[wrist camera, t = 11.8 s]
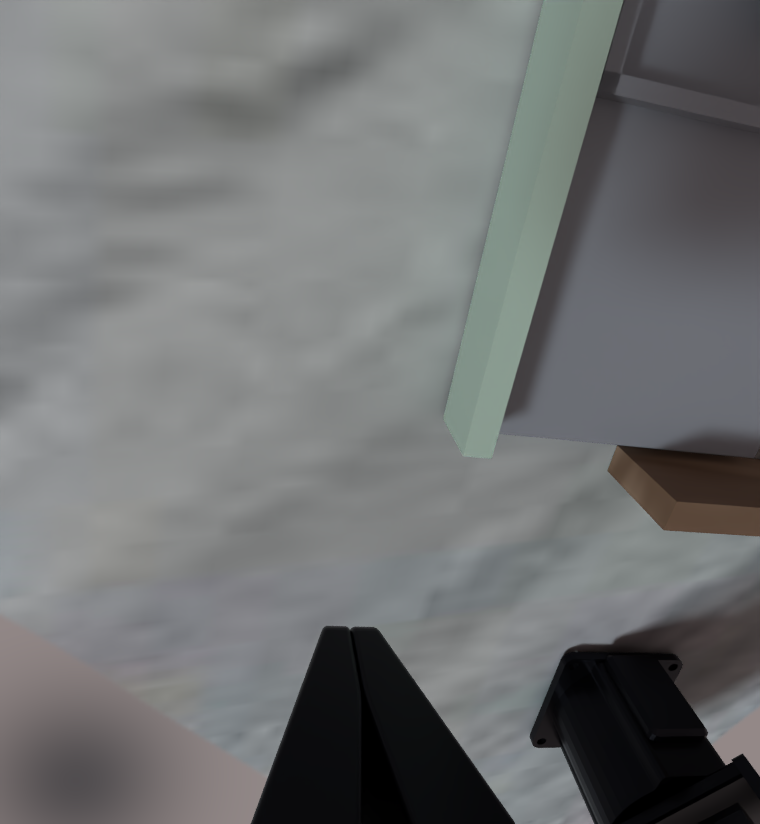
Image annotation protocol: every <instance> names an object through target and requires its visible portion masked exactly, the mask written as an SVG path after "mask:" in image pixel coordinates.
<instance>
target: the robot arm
mask: <svg viewBox="0 0 760 824" xmlns="http://www.w3.org/2000/svg"><path fill="white" fill-rule="evenodd" d="M682 665H683V664H682V662H681V661H680V659H679V658H678V656H676V655H675V654H652V653H594V652H571V653H568V654H566V655H564V656H563V657H562V659H561V661H560V663H559V666H558V668H557V670H556V673H555V675H554V678H553V680H552V682H551V685H550V687H549V690H548V692H547V695H546V697H545V699H544V702H543V704H542V707H541V709H540V712H539V714H538V716H537V719H536V721H535V724H534V726H533V728H532V731H531V733H530V739H531V742H532V744H533V746H534V747H537V748H556V747H561V749H562V751H563V753H564V756H565V758H566V760H567V762H568V765H569V767H570V769H571V772H572V774H573V776H574V778H575V781H576V783H577V785H578V788H579V790H580V792H581V794H582V797H583V799H584V801H585V803H586V806H587V808H588V810H589V813H590V815H591V817H592V819H593V822H594V824H760V777H759V775H758V774H757V772H756V771H755V770H754V769H753V767H752V766H751V764H750V763H749V761H748V760H747V759H746V757H745V756H744V755H743V754H741V755H739V756H737V757H735V758H733V759H732V761H733V762H732V763H730V764H728V765H725V764H724V763H723V761H722V759H721V758H720V756H719V755H718V754H717V752H716V751H715V749H714V748H713V746H712V745H711V743H710V742H709V741H708V739H707V738H706V737H707V735H708V732H707V729H706V728H705V727H704V725H703V724H702V722H701V721H700V719H699V718H698V717H697V715H696V714H695V712H694V711H693V709H692V708H691V707H690V705H689V704H688V702H687V701H686V699H685V698H684V697H683V695H682V694H681V692H680V691H679V689H678V688H677V687H676V685H675V684H674V681H675V679H676V677H677V676H678V674H679V672H680V670H681V668H682ZM251 824H515V822H514V821H513V819H512V818H511V816H510V815H509V814H508V812H507V811H506V809H505V808H504V807H503V805H502V804H501V802H500V801H499V799H498V798H497V797H496V795H495V794H494V792H493V791H492V790H491V788H490V787H489V785H488V784H487V783H486V781H485V780H484V778H483V777H482V775H481V774H480V773H479V771H478V770H477V768H476V767H475V766H474V764H473V763H472V761H471V760H470V758H469V757H468V756H467V754H466V753H465V751H464V750H463V749H462V747H461V746H460V744H459V743H458V742H457V740H456V739H455V737H454V736H453V734H452V733H451V732H450V730H449V729H448V727H447V726H446V725H445V723H444V722H443V720H442V719H441V717H440V716H439V715H438V713H437V712H436V710H435V709H434V708H433V706H432V705H431V703H430V702H429V700H428V699H427V698H426V696H425V695H424V693H423V692H422V691H421V689H420V688H419V686H418V685H417V684H416V682H415V681H414V679H413V678H412V676H411V675H410V674H409V672H408V671H407V669H406V668H405V667H404V665H403V664H402V662H401V661H400V659H399V658H398V657H397V655H396V654H395V652H394V651H393V650H392V648H391V647H390V645H389V644H388V643H387V641H386V640H385V638H384V637H383V635H382V634H381V633H380V631H379V630H378V629H377V628H375V627H353V628H351V630H350V629H349V628H348V627H346V626H325V627H324V628H323V630H322V632H321V635H320V637H319V640H318V643H317V645H316V648H315V651H314V654H313V656H312V659H311V662H310V664H309V667H308V670H307V673H306V675H305V678H304V681H303V683H302V686H301V689H300V692H299V694H298V697H297V700H296V702H295V705H294V708H293V711H292V713H291V716H290V719H289V722H288V724H287V727H286V730H285V732H284V735H283V738H282V741H281V743H280V746H279V749H278V751H277V754H276V757H275V760H274V762H273V765H272V768H271V770H270V773H269V776H268V779H267V781H266V784H265V787H264V789H263V793H262V795H261V798H260V800H259V803H258V806H257V809H256V811H255V814H254V817H253V820H252V822H251Z"/></svg>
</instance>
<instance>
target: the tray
mask: <svg viewBox="0 0 760 824" xmlns="http://www.w3.org/2000/svg"><path fill="white" fill-rule="evenodd" d="M443 420H444V421H445V423H446V425H447V427H448V429H449V431H450V433H451V435H452V436H453V438H454V440H455V442H456V444H457V446H458V448H459V450H460V451H461V453H462V455H463V456H466V457H478V458H489V459H492V456H493V452H494V449H495V445H496V442H497V438H498V435H499V434H509V435H519V436H530V437H540V438H551V439H561V440H571V441H582V442H592V443H602V444H613V445H623V446H634V447H644V448H654V449H665V450H675V451H686V452H696V453H706V454H717V455H727V456H737V457H748V458H755V456H756V454H757V452H758V450H759V448H760V0H544V1H543V5H542V9H541V13H540V18H539V22H538V26H537V30H536V34H535V38H534V43H533V47H532V51H531V55H530V59H529V63H528V68H527V72H526V76H525V80H524V84H523V88H522V93H521V97H520V101H519V105H518V109H517V113H516V118H515V122H514V126H513V130H512V134H511V138H510V143H509V147H508V151H507V155H506V159H505V163H504V168H503V172H502V176H501V180H500V184H499V188H498V193H497V197H496V201H495V205H494V209H493V213H492V218H491V222H490V226H489V230H488V234H487V238H486V243H485V247H484V251H483V255H482V259H481V263H480V267H479V272H478V276H477V280H476V284H475V288H474V292H473V297H472V301H471V305H470V309H469V313H468V317H467V322H466V326H465V330H464V334H463V338H462V342H461V347H460V351H459V355H458V359H457V363H456V367H455V372H454V376H453V380H452V384H451V388H450V392H449V397H448V401H447V405H446V409H445V413H444V417H443Z"/></svg>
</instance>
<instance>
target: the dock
mask: <svg viewBox="0 0 760 824" xmlns="http://www.w3.org/2000/svg"><path fill="white" fill-rule="evenodd" d="M608 472H609V473H610V474H611V475H612V476H613V477H614V478H615V479H616V480H617V481H618V482H619V484H620V485H621V486H622V487H623V488H624V489H625V490H626V491H627V492H628V493H629V494H630V495H631V496H632V497H633V498H634V499H635V500H636V501H637V503H638V504H639V505H640V506H641V507H642V508H643V509H644V510H645V511H646V512H647V513H648V514H649V515H650V516H651V517H652V518H653V519H654V520H655V521H656V523H657V524H658V525H659V526H660V527H661V528H662V529H663V530H669V531H685V532H700V533H715V534H731V535H746V536H760V459H752V458H742V457H732V456H721V455H711V454H700V453H690V452H680V451H669V450H659V449H648V448H638V447H627V446H617V448H616V450H615V453H614V455H613V458H612V461H611V463H610V466H609V468H608Z"/></svg>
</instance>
